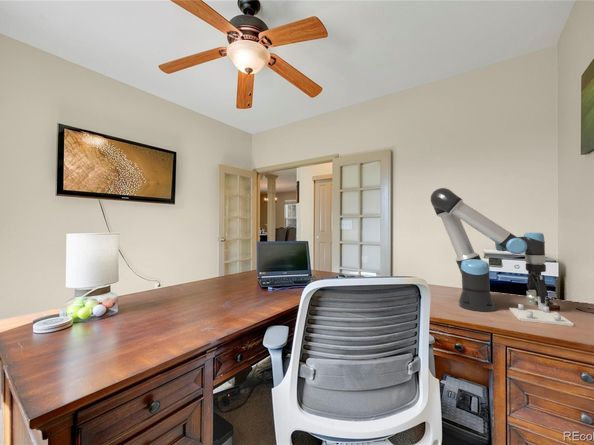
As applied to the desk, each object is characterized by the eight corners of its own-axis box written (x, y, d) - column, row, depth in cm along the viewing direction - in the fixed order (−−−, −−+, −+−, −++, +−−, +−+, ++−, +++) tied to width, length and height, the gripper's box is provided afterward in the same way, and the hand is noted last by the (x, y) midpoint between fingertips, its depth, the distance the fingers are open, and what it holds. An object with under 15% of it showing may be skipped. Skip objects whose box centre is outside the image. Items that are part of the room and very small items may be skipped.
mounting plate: (519, 320, 113) (519, 312, 113) (509, 309, 127) (509, 302, 127) (573, 326, 105) (573, 317, 105) (556, 314, 119) (555, 306, 119)
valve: (521, 302, 138) (537, 309, 126) (521, 290, 138) (536, 296, 126) (536, 303, 136) (553, 310, 125) (536, 290, 136) (552, 296, 125)
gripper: (555, 267, 119) (558, 314, 118) (536, 260, 140) (537, 300, 140) (534, 266, 122) (536, 312, 121) (518, 260, 144) (520, 299, 143)
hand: (537, 306), depth 131 cm, fingers open, 12 cm apart
